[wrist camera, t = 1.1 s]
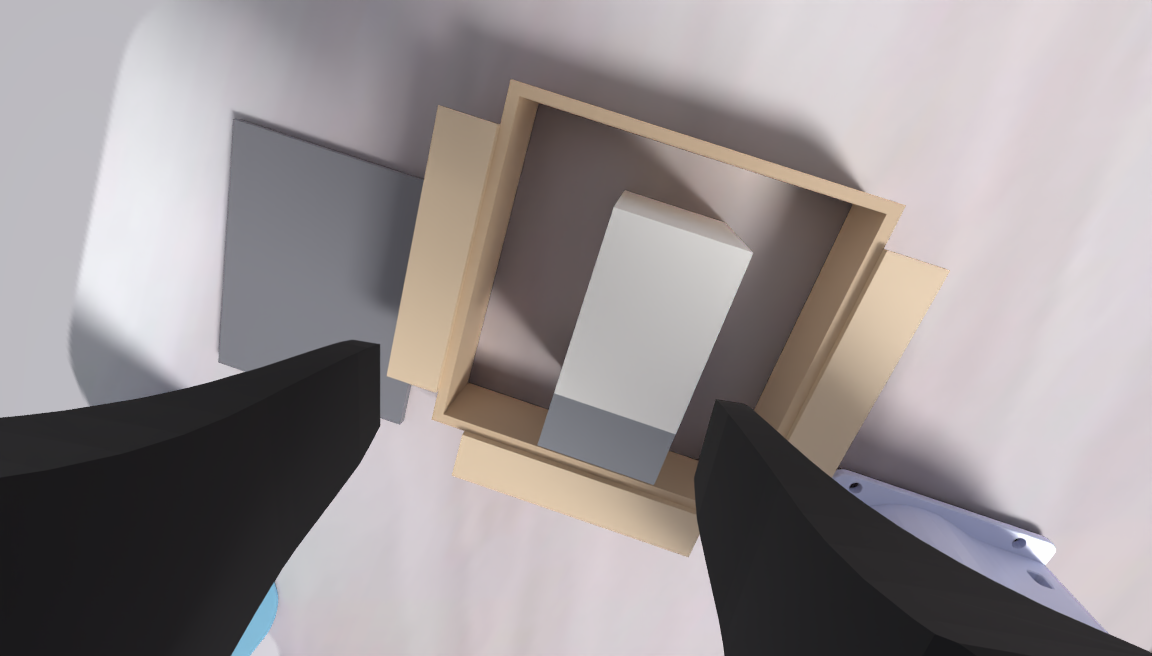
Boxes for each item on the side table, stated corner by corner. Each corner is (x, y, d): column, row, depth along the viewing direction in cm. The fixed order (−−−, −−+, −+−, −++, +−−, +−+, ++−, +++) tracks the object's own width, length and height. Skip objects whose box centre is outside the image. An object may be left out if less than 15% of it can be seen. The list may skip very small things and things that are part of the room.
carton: (922, 214, 19) (974, 227, 16) (755, 529, 24) (770, 585, 21) (479, 71, 20) (447, 58, 16) (408, 410, 25) (372, 448, 22)
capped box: (725, 222, 20) (753, 252, 15) (653, 401, 23) (654, 485, 17) (624, 189, 20) (613, 206, 15) (565, 372, 23) (537, 445, 17)
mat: (452, 188, 21) (448, 189, 21) (403, 420, 25) (399, 424, 25) (240, 119, 21) (233, 119, 21) (224, 359, 25) (218, 362, 25)
